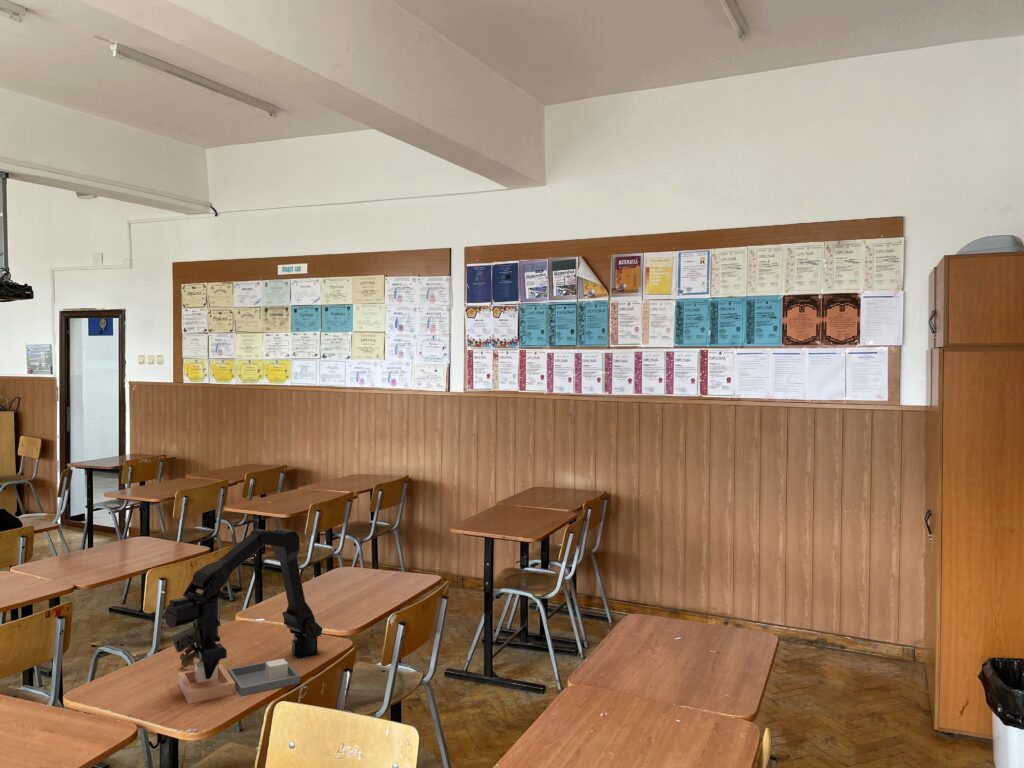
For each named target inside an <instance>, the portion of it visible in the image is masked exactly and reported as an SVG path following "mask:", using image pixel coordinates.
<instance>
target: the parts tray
mask: <svg viewBox="0 0 1024 768" xmlns="http://www.w3.org/2000/svg"><path fill="white" fill-rule="evenodd" d="M279 659H280V658H277V659H276V660H279ZM281 659H284V660H285V661H286V662H287V663H288V677H287V678H282V679H278V680H273V681H268V679H267V678H266V677H265V662H268V661H269V660H267V661H262V662H258V663H257V662H256V663H252V664H247V665H242V666H237V667H231V668H227V672H228V673H229V675H230V676H231V678H232V679H233V680H234V682H235V691H237V692H238V695H240V697H244V696H249V695H253V694H258V693H262V692H266V691H271V690H276V689H281V688H286V687H291V686H294V685H300V684H301V675H300V673H298V672H297V671H296V670H295V668H294V667H293V666H292V665H291V664H290V663H289V662H288V661H287V660H286V658H285V657H283V658H281ZM274 660H275V659H272V660H271V661H274Z"/></svg>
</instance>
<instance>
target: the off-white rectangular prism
mask: <svg viewBox="0 0 1024 768" xmlns="http://www.w3.org/2000/svg"><path fill="white" fill-rule="evenodd" d="M278 659H279V660H277V659H273V660H274V661H272V660H267V661H268V662H267V661H264V662H265V677H266V678H267V679H268V681H273V680H278V679H282V678H287V677H288V663H289V662H288V661H287V660H286V659H285V658H284V659H285V660H286V661H287V662H288V663H287V662H286V661H285V660H284V659H282V658H278Z"/></svg>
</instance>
